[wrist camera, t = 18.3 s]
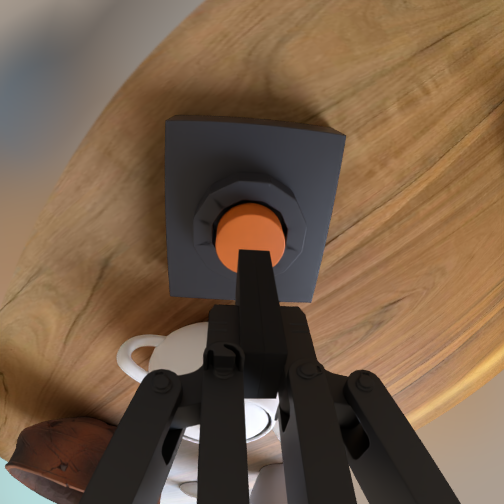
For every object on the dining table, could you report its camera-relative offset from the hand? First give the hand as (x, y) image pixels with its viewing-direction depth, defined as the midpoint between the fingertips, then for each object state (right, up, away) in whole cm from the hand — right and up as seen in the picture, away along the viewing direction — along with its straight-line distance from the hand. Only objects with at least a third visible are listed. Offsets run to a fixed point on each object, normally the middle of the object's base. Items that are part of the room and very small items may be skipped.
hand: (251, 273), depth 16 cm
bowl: (-26, -29, +26) cm, 46 cm away
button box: (0, +5, +8) cm, 9 cm away
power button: (0, +2, +4) cm, 4 cm away
